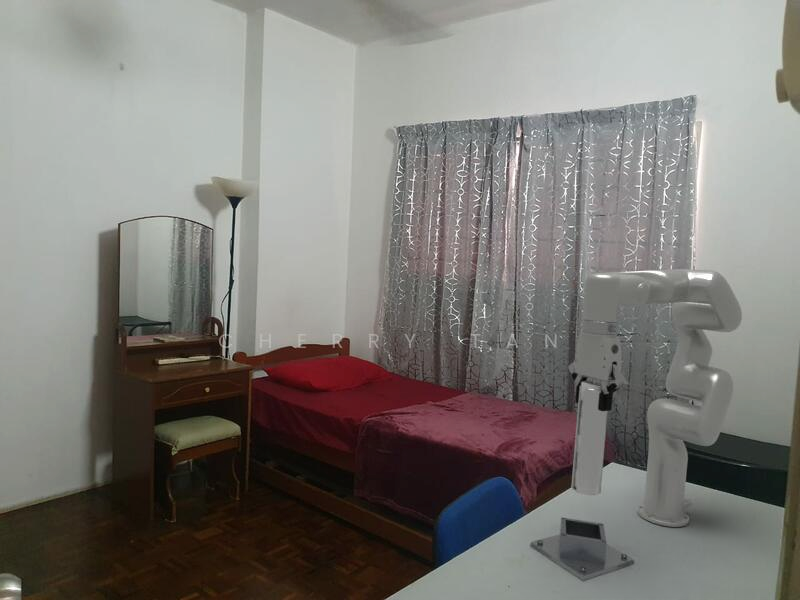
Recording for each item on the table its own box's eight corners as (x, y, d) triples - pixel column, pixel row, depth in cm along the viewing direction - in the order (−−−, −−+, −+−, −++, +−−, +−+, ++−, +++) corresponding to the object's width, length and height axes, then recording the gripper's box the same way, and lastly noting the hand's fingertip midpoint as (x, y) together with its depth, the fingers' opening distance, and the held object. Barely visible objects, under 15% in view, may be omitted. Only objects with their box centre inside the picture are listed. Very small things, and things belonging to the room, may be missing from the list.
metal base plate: (579, 532, 144) (580, 509, 144) (633, 563, 131) (635, 537, 130) (530, 546, 136) (532, 521, 136) (583, 580, 123) (585, 553, 122)
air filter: (602, 497, 131) (611, 387, 129) (572, 493, 132) (581, 384, 131) (599, 486, 137) (607, 381, 136) (570, 482, 139) (578, 378, 137)
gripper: (642, 333, 127) (635, 415, 128) (582, 323, 142) (576, 396, 143) (618, 334, 123) (611, 418, 124) (559, 323, 138) (553, 398, 139)
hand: (592, 405), depth 133 cm, fingers closed on air filter, 6 cm apart
